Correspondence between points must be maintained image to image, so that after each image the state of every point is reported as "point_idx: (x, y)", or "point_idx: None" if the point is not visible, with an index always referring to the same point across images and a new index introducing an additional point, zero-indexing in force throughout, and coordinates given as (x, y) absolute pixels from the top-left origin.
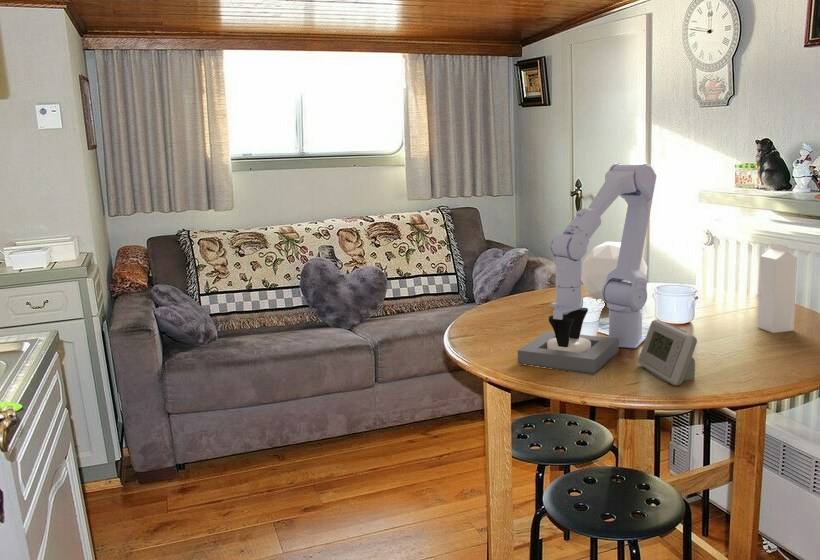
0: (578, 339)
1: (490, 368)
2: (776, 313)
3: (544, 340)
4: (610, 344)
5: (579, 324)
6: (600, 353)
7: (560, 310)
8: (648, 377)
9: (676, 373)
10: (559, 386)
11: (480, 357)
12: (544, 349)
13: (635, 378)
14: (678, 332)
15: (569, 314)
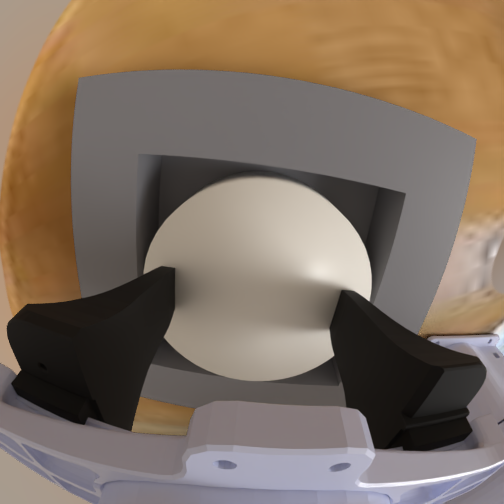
0: (319, 331)
1: (66, 28)
2: None
3: (303, 148)
4: None
5: (347, 388)
6: (169, 401)
7: (16, 446)
8: (168, 434)
9: None
10: (17, 281)
11: None
12: (124, 197)
13: (149, 418)
14: None
15: (393, 388)
